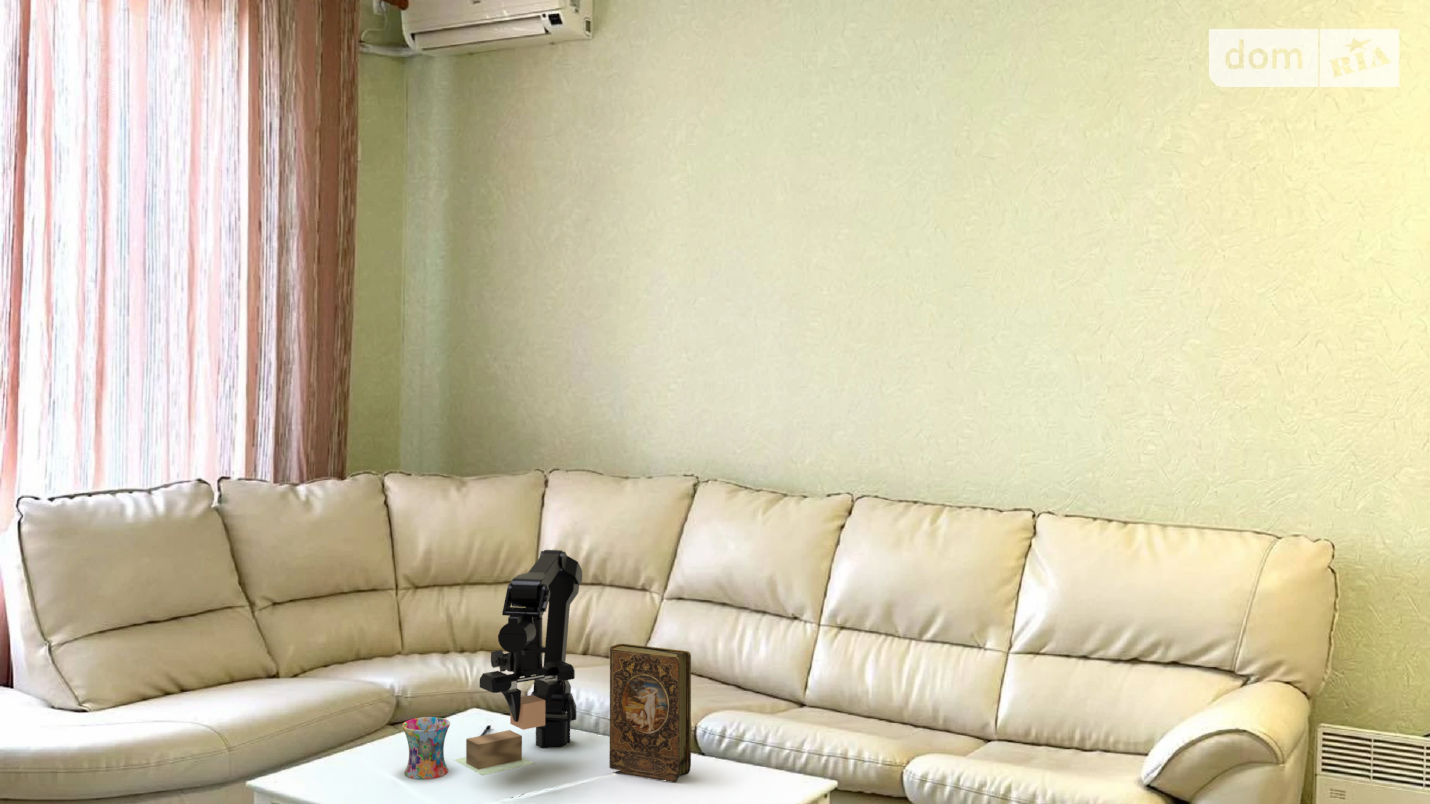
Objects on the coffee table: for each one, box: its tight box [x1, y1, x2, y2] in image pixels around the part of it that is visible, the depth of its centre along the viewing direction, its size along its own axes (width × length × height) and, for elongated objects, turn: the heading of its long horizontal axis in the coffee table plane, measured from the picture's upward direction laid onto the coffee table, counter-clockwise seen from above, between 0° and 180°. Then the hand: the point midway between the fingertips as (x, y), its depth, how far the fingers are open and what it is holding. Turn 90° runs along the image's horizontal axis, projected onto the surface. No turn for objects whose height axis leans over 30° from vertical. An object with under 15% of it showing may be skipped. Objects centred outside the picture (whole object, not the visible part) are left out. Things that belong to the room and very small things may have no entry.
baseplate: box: [454, 756, 536, 776], centre depth 269 cm, size 12×12×1 cm
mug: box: [401, 716, 451, 781], centre depth 263 cm, size 12×9×11 cm
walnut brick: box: [465, 729, 523, 769], centre depth 269 cm, size 10×5×5 cm, turn 128°
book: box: [609, 643, 692, 783], centre depth 264 cm, size 16×6×25 cm, turn 65°
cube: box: [509, 694, 545, 731], centre depth 261 cm, size 5×5×5 cm
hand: (527, 719), depth 261 cm, fingers closed on cube, 5 cm apart
